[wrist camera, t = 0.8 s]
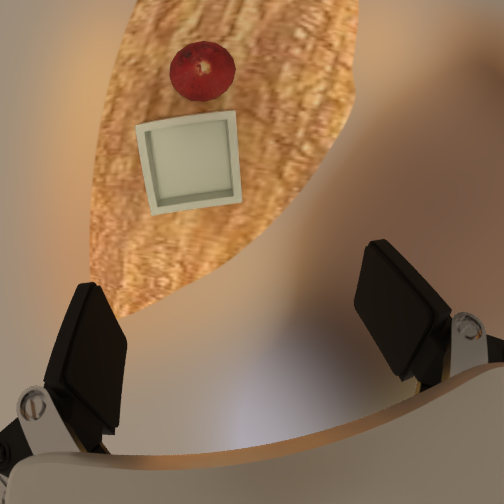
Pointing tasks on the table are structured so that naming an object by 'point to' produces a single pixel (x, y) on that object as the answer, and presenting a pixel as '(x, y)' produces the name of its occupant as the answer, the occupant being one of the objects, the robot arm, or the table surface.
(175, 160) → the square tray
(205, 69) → the onion
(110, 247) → the table surface
